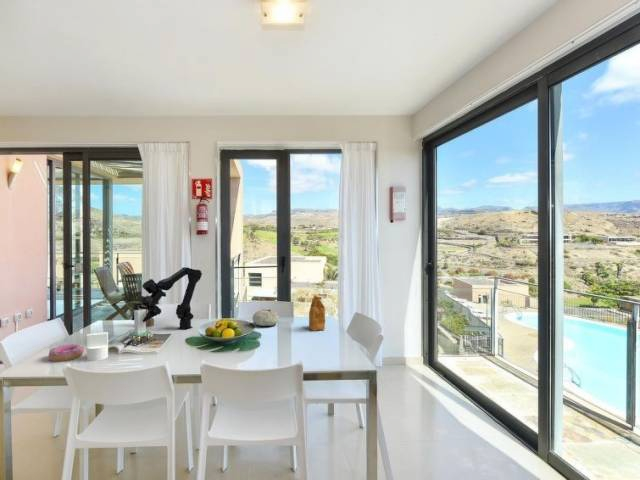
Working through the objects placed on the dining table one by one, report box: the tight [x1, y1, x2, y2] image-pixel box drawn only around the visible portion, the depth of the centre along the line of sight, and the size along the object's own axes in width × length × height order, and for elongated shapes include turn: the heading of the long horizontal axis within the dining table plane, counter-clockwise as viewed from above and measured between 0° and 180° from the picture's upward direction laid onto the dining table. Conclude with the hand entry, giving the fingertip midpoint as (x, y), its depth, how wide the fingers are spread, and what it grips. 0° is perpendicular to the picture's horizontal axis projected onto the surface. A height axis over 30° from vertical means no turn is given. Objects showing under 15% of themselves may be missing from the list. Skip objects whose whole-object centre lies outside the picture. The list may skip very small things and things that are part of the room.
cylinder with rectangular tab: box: [86, 331, 109, 362], centre depth 178 cm, size 9×9×12 cm
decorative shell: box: [252, 308, 280, 327], centre depth 243 cm, size 18×18×10 cm
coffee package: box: [308, 294, 326, 332], centre depth 234 cm, size 10×12×22 cm
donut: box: [48, 343, 85, 362], centre depth 178 cm, size 14×14×5 cm
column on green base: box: [128, 309, 152, 337], centre depth 204 cm, size 8×8×14 cm
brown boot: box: [137, 301, 155, 327], centre depth 239 cm, size 9×4×18 cm, turn 92°
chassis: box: [129, 334, 157, 345], centre depth 204 cm, size 12×12×4 cm
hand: (137, 320), depth 203 cm, fingers open, 9 cm apart
